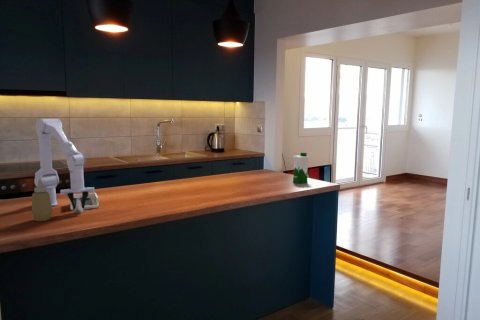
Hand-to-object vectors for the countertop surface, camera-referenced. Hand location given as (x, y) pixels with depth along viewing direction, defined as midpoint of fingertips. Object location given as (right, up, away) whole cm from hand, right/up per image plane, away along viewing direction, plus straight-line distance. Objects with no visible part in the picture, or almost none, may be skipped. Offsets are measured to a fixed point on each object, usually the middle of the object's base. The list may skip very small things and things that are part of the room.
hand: (78, 208), depth 172 cm
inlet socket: (-2, -1, +11) cm, 11 cm away
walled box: (-2, -1, +11) cm, 11 cm away
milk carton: (+117, +7, +74) cm, 139 cm away
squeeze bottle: (-11, -4, -12) cm, 16 cm away
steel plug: (0, -2, 0) cm, 2 cm away
